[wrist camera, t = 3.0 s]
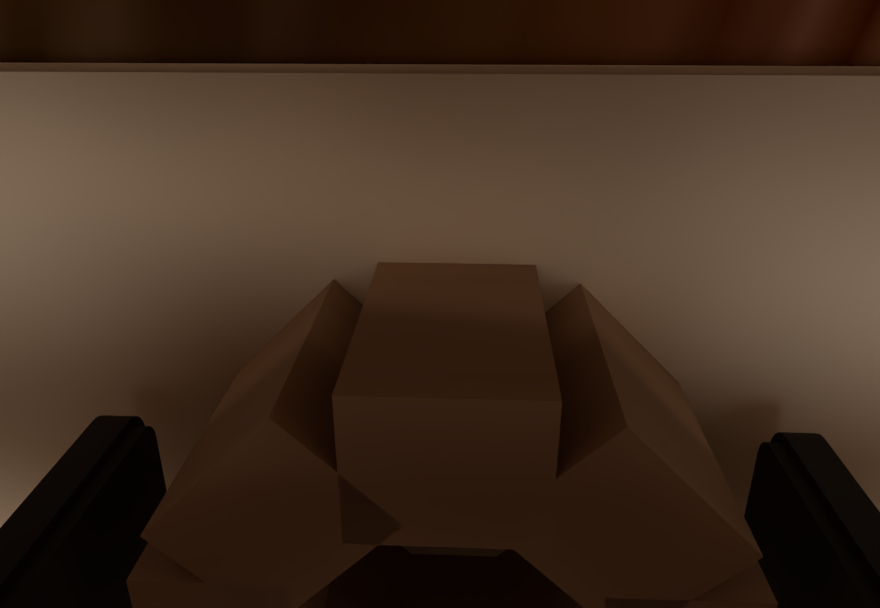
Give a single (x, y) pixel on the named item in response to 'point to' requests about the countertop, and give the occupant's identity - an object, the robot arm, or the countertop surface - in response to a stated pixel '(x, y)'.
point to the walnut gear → (451, 463)
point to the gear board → (436, 231)
